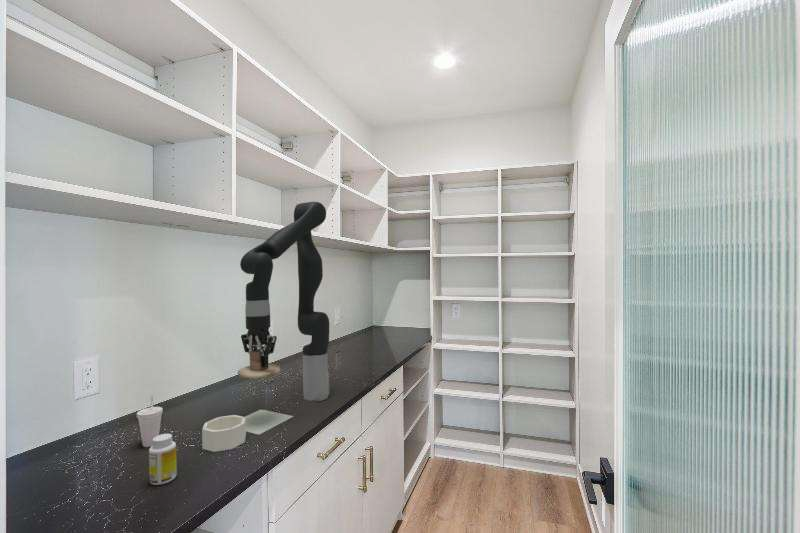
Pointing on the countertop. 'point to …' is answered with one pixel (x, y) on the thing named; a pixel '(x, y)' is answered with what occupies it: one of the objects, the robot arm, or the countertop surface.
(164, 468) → the supplement bottle
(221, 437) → the bowl
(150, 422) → the smoothie
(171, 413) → the countertop surface
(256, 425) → the mat
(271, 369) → the lid
